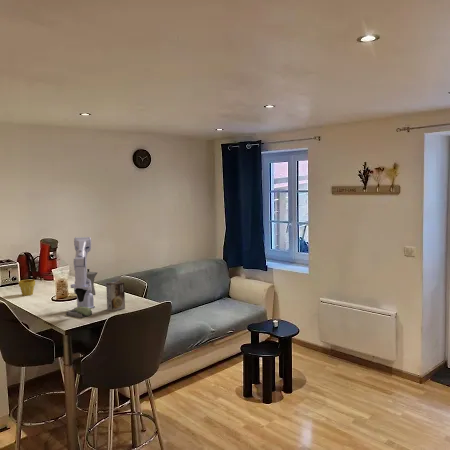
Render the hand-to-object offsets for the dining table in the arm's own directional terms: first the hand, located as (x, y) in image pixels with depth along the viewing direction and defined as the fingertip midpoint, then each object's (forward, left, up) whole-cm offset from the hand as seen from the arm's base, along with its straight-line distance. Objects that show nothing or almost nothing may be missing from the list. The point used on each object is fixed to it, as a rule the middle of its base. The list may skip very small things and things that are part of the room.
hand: (81, 301), depth 250 cm
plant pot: (-18, -73, -8) cm, 76 cm away
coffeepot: (-38, -36, -8) cm, 53 cm away
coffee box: (-20, +8, -8) cm, 23 cm away
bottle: (0, +6, -5) cm, 8 cm away
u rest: (0, -2, -8) cm, 8 cm away
